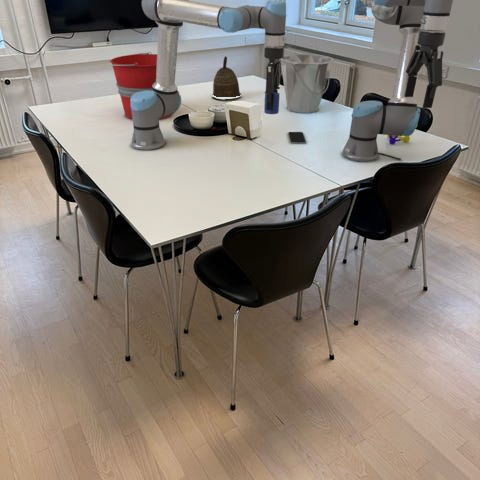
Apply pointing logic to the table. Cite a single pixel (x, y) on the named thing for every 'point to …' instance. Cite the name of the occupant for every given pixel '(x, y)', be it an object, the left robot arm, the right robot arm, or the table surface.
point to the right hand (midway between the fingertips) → (417, 102)
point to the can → (275, 105)
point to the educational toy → (394, 140)
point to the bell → (225, 82)
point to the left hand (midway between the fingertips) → (271, 107)
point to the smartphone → (296, 137)
